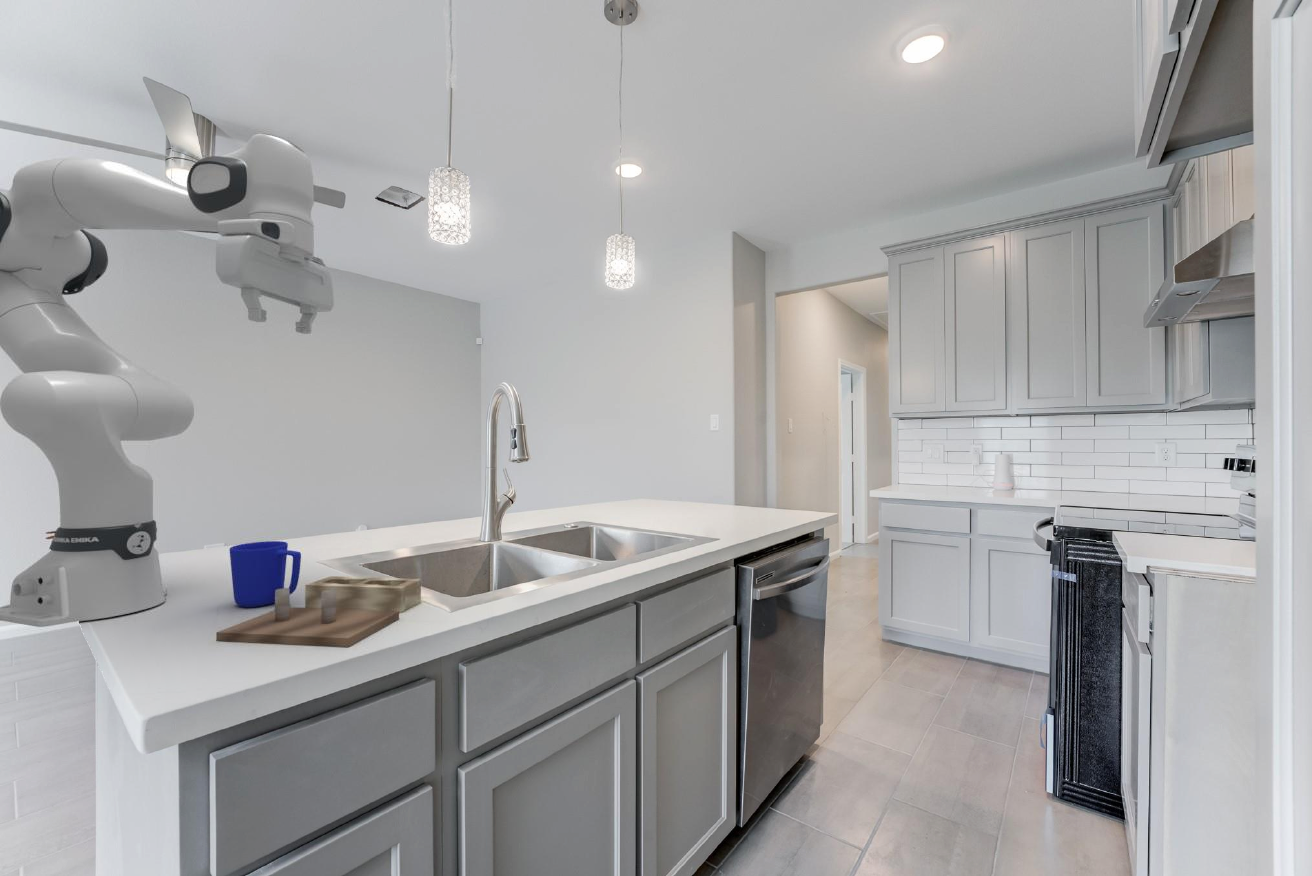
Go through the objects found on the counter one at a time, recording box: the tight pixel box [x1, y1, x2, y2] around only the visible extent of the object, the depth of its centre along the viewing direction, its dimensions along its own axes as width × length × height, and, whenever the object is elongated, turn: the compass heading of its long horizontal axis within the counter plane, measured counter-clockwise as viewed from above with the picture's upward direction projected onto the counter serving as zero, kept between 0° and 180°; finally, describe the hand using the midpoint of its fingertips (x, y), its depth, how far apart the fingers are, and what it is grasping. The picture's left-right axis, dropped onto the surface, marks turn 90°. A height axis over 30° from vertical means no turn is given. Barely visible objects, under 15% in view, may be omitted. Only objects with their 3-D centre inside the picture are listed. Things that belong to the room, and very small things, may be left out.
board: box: [215, 587, 400, 648], centre depth 83 cm, size 20×12×6 cm, turn 83°
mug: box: [229, 540, 302, 608], centre depth 96 cm, size 8×12×10 cm
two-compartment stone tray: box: [304, 575, 422, 614], centre depth 95 cm, size 17×6×4 cm, turn 83°
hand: (281, 327), depth 90 cm, fingers open, 8 cm apart
